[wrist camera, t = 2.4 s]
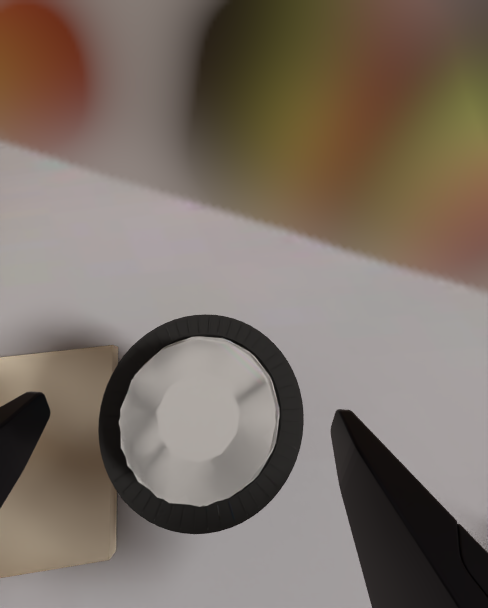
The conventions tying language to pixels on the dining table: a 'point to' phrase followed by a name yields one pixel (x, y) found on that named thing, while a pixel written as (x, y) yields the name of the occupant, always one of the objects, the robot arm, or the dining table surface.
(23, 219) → the dining table surface
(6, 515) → the birch pad
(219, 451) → the push button
